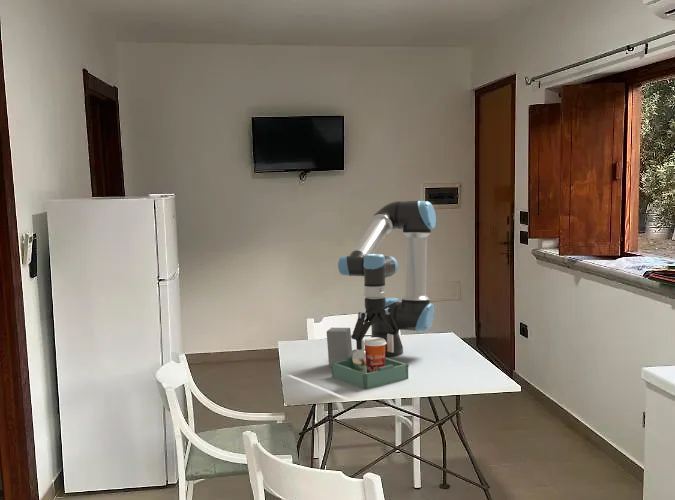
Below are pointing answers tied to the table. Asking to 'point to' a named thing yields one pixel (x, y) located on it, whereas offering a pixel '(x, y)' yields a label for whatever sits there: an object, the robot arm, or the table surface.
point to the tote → (370, 373)
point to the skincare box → (339, 344)
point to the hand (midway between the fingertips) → (376, 355)
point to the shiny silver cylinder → (358, 362)
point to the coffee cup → (374, 353)
